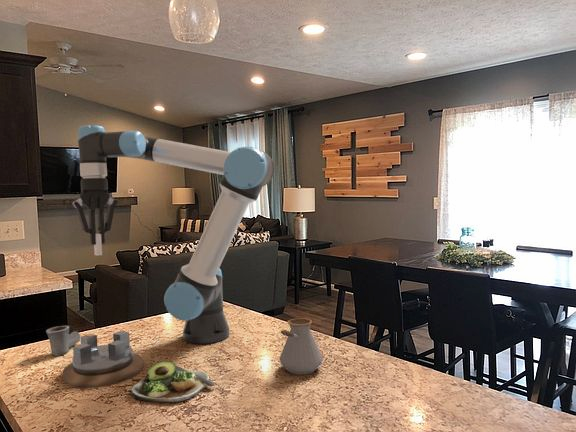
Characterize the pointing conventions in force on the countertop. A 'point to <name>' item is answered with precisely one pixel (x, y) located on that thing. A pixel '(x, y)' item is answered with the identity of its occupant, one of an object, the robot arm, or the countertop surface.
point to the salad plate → (170, 383)
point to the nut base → (102, 375)
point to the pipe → (61, 339)
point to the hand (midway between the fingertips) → (98, 254)
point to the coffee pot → (300, 348)
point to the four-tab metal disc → (102, 355)
